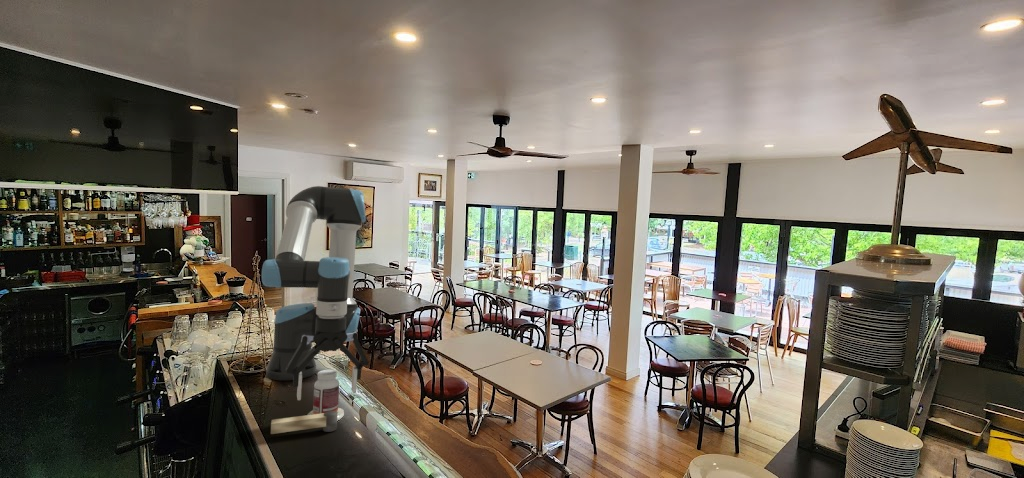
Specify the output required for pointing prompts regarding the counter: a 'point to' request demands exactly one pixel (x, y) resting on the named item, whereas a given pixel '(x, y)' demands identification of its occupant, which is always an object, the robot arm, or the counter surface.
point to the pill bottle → (326, 392)
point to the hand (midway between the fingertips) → (327, 394)
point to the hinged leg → (306, 422)
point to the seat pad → (340, 413)
